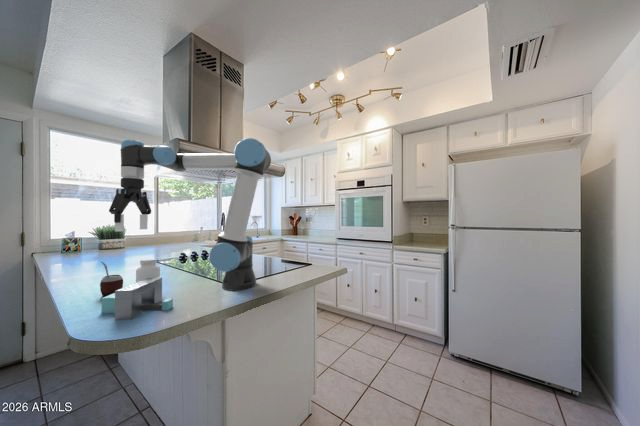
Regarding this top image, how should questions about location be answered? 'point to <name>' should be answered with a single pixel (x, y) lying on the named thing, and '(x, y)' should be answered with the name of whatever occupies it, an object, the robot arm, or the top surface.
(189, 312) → the top surface
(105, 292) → the mate gourd
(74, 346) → the top surface
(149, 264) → the pill bottle
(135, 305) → the grey bridge block
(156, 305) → the teal and grey bar
